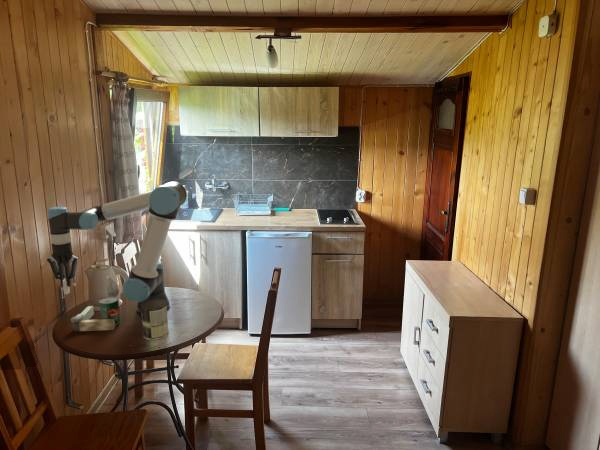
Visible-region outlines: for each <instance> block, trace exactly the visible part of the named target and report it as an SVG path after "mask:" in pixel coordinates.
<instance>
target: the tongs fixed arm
mask: <svg viewBox="0 0 600 450" xmlns="http://www.w3.org/2000/svg"><path fill="white" fill-rule="evenodd" d="M71 324H72V331H73V332H74V331H75V332H77V331H78V332H93V331H114V330H115V328H116V325H115V320H114V319H101V318H100V319H89V320H81V321H80V322H77V323H72V322H71Z"/></svg>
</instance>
